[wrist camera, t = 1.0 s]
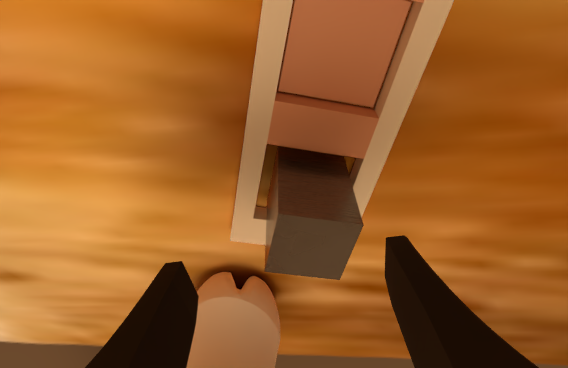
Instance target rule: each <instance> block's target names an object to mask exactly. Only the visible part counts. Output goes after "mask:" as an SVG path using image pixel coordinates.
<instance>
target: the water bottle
mask: <svg viewBox="0 0 568 368" xmlns="http://www.w3.org/2000/svg"><path fill="white" fill-rule="evenodd" d="M197 294H198V296H199V299H198V310H197V319H196V327H195V331H194V336H193V340H192V345H191V349H190V354H189V358H188V363H187V367H186V368H275V363H276V356H277V351H278V347H279V342H280V320H279V314H278V310H277V306H276V302H275V299H274V297H273V294H272V292H271V290H270V289H269V287H268V286H267V284H266V283H265V282H264V281H263V280H261V279H260V278H258V277H256V276H251V277H249V278H248V279H247V281H246V282H245V284H244V286H243V287H242V289H237V288H236V285H235V282H234V280H233V277H232V274H231V272H221V273H217V274H214V275H213V276H211V277H210V278H209V279H208V280H207V281H206V282H205V283H203V285H202V286H201V287H200V288H199V290H198V291H197Z"/></svg>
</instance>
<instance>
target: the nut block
mask: <svg viewBox="0 0 568 368" xmlns="http://www.w3.org/2000/svg"><path fill="white" fill-rule="evenodd" d="M362 227H363V222H362V218H361V215H360V211H359V207H358V204H357V200H356V197H355V193H354V190H353V186H352V183H351V179H350V176H349V172H348V169H347V165H346V162H345V158H344V156H339V155H333V154H327V153H320V152H314V151H307V150H301V149H294V148H288V147H282V146H278V148H277V153H276V158H275V163H274V168H273V173H272V178H271V182H270V187H269V192H268V197H267V218H266V245H265V272H273V273H282V274H291V275H300V276H309V277H318V278H327V279H336V280H340V278H341V275H342V273H343V271H344V269H345V266H346V264H347V262H348V259H349V257H350V255H351V253H352V250H353V248H354V246H355V243H356V241H357V239H358V236H359V234H360V232H361V230H362Z"/></svg>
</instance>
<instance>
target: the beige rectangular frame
mask: <svg viewBox="0 0 568 368" xmlns="http://www.w3.org/2000/svg"><path fill="white" fill-rule="evenodd" d="M411 1H413V4H412V7H411V9H410V12H409V15H408V18H407V20H406V23H405V26H404V29H403V31H402V34H401V37H400V40H399V42H398V45H397V48H396V50H395V53H394V56H393V59H392V61H391V64H390V67H389V70H388V72H387V75H386V78H385V81H384V83H383V86H382V89H381V92H380V94H379V97H378V100H377V102H376V105H375V108H374V109H372V108H366V107H360V106H355V105H349V104H343V103H338V102H332V101H326V100H320V99H315V98H309V97H303V96H298V95H292V94H286V93H280V92H276V90H277V85H278V79H279V74H280V69H281V63H282V58H283V52H284V47H285V41H286V36H287V30H288V25H289V19H290V14H291V8H292V3H293V0H263V3H262V11H261V18H260V25H259V33H258V40H257V47H256V54H255V62H254V69H253V76H252V84H251V91H250V98H249V105H248V113H247V120H246V127H245V134H244V142H243V149H242V156H241V164H240V171H239V178H238V185H237V193H236V200H235V207H234V215H233V222H232V229H231V236H230V241H235V242H244V243H252V244H260V245H266V218H267V208H265V207H257V206H255V205H256V200H257V194H258V189H259V183H260V178H261V173H262V167H263V162H264V156H265V151H266V145H267V144H272V145H278V146H285V147H291V148H297V149H304V150H310V151H317V152H323V153H329V154H336V155H342V156H349V157H355V158H356V160H355V163H354V165H353V168H352V171H351V174H350V179H351V183H352V186H353V190H354V193H355V197H356V200H357V204H358V207H359V211H360V215H361V218H362V215H363V213H364V211H365V208H366V206H367V204H368V201H369V199H370V196H371V194H372V192H373V189H374V187H375V185H376V182H377V180H378V178H379V175H380V173H381V171H382V168H383V166H384V164H385V161H386V159H387V157H388V154H389V152H390V150H391V147H392V145H393V142H394V140H395V138H396V135H397V133H398V131H399V128H400V126H401V124H402V121H403V119H404V117H405V114H406V112H407V110H408V107H409V105H410V103H411V100H412V98H413V96H414V93H415V91H416V89H417V86H418V84H419V81H420V79H421V77H422V74H423V72H424V70H425V67H426V65H427V63H428V60H429V58H430V56H431V53H432V51H433V49H434V46H435V44H436V42H437V39H438V37H439V35H440V32H441V30H442V27H443V25H444V23H445V20H446V18H447V16H448V13H449V11H450V9H451V6H452V4H453V2H454V0H411ZM411 1H407V0H295V1H294V6H293V11H292V17H291V22H290V28H289V33H288V38H287V44H286V49H285V55H284V60H283V65H282V71H281V76H280V82H279V87H278V91H282V92H288V93H294V94H299V95H305V96H311V97H316V98H322V99H328V100H334V101H339V102H345V103H351V104H356V105H362V106H368V107H374V104H375V101H376V99H377V96H378V93H379V90H380V87H381V85H382V82H383V79H384V76H385V74H386V71H387V68H388V65H389V63H390V60H391V57H392V54H393V52H394V49H395V46H396V43H397V41H398V38H399V35H400V32H401V30H402V27H403V24H404V21H405V19H406V16H407V13H408V10H409V8H410V5H411Z"/></svg>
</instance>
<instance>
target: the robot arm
mask: <svg viewBox="0 0 568 368" xmlns="http://www.w3.org/2000/svg"><path fill="white" fill-rule="evenodd" d="M385 279H386V283H387V287H388V292H389V296H390V300H391V304H392V307H393V309H394V312H395V315H396V318H397V321H398V323H399V326H400V329H401V332H402V334H403V337H404V340H405V342H406V345H407V348H408V351H409V353H410V356H411V359H412V362H413V364H414V367H415V368H538V367H537V366H536V365H535V364H533V363H532V362H531V361H529V360H528V359H527V358H525V357H524V356H523V355H522V354H520V353H519V352H518V351H516V350H515V349H514V348H513V347H512V346H510V345H509V344H508V343H507V342H506V341H504V340H503V339H502V338H501V337H500V336H498V335H497V334H496V333H495V332H494V331H493V330H492V329H491V328H489V327H488V326H487V325H486V324H485V323H484V322H483V321H482V320H481V319H479V318H478V317H477V316H476V315H475V314H474V313H473V312H472V311H471V310H470V309H469V308H468V307H467V306H466V305H465V304H464V303H463V302H462V301H461V300H460V299H459V298H458V297H457V296H456V295H455V294H454V293H453V292H452V291H451V290H450V289H449V287H448V286H447V285H446V284H445V283H444V282H443V281H442V280H441V279H440V278H439V276H438V275H437V274H436V273H435V272H434V271H433V270H432V269H431V267H430V266H429V265H428V264H427V263H426V261H425V260H424V259H423V258H422V256H421V255H420V254H419V253H418V251H417V250H416V249H415V248H414V246H413V245H412V244H411V242H410V241H409V239H408V238H407V237H406V236H395V237H387V238H386V253H385ZM198 299H199V296H198V294H197V292H196V290H195V288H194V285H193V283H192V281H191V279H190V277H189V275H188V273H187V271H186V269H185V267H184V265H183V263H182V261H180V262H172V263H165V265H164V266H163V267H162V269H161V270H160V271H159V273H158V274H157V276H156V277H155V279H154V280H153V281H152V283H151V284H150V286H149V287H148V289H147V290H146V291H145V293H144V294H143V296H142V297H141V298H140V300H139V301H138V303H137V304H136V305H135V307H134V308H133V309H132V311H131V312H130V314H129V315H128V316H127V318H126V319H125V320H124V322H123V323H122V324H121V325H120V327H119V328H118V329H117V330H116V332H115V333H114V334H113V335H112V337H111V338H110V339H109V341H108V342H107V343H106V344H105V345H104V347H103V348H102V349H101V350H100V352H99V353H98V354H97V355H96V356H95V357H94V358H93V359H92V361H91V362H90V363H89V364H88V365H87V366H86V367H85V368H186V367H187V363H188V358H189V354H190V349H191V345H192V340H193V336H194V331H195V327H196V319H197V310H198Z"/></svg>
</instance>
